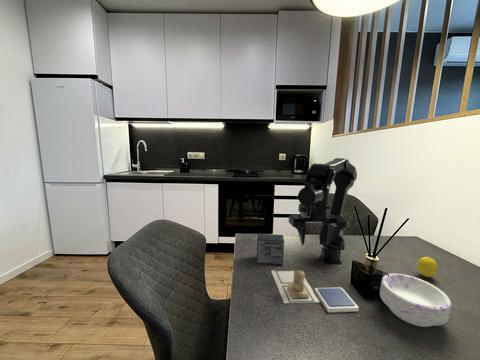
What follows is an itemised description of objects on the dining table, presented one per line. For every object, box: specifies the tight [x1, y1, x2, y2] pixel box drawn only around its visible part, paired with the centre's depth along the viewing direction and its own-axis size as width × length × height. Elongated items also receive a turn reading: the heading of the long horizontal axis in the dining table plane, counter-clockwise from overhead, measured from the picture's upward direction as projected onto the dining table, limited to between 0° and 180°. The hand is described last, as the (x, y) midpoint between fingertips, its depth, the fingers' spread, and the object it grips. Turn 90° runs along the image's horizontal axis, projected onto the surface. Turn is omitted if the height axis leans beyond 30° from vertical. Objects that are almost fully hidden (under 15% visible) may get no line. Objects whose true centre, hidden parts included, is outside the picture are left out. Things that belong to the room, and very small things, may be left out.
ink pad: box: [314, 286, 360, 313], centre depth 66 cm, size 9×9×2 cm
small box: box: [255, 233, 285, 267], centre depth 87 cm, size 11×6×10 cm, turn 84°
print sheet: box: [270, 269, 321, 305], centre depth 73 cm, size 11×17×1 cm, turn 5°
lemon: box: [417, 256, 438, 278], centre depth 80 cm, size 6×6×8 cm
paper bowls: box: [379, 273, 452, 328], centre depth 61 cm, size 15×15×8 cm
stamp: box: [288, 269, 309, 299], centre depth 68 cm, size 5×5×7 cm
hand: (315, 244), depth 76 cm, fingers open, 9 cm apart
